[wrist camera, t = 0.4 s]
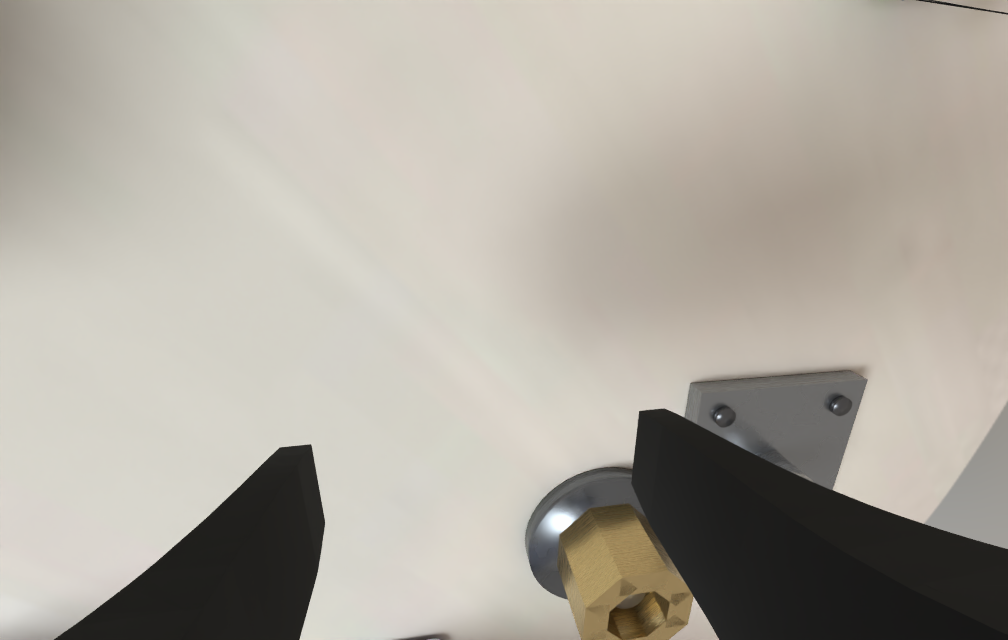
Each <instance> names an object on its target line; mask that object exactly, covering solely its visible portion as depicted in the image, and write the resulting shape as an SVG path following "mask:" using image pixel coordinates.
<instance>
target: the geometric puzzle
mask: <svg viewBox="0 0 1008 640" xmlns="http://www.w3.org/2000/svg"><path fill="white" fill-rule="evenodd" d="M902 1H903V0H902ZM918 1H925V2H931V3H937V4H944V5H950V6H957V7H963V8H970V9H976V10H982V11H989V12H995V13H1002V14H1008V13H1004V12H998V11H991V10H986V9H980V8H974V7H969V6H963V5H957V4H951V3H946V2H940V1H935V2H933V1H934V0H929V1H926V0H918ZM939 2H940V3H939Z"/></svg>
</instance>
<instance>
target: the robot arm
mask: <svg viewBox="0 0 1008 640" xmlns="http://www.w3.org/2000/svg"><path fill="white" fill-rule="evenodd" d="M631 484H632V487H633V489H634V491H635V494H636V496H637V498H638V501H639V503H640V505H641V507H642V509H643V512H644V514H645V516H646V518H647V520H648V522H649V524H650V526H651V528H652V529H653V531H654V533H655V534H656V536H657V538H658V539H659V541H660V543H661V544H662V546H663V548H664V549H665V551H666V552H667V554H668V556H669V557H670V559H671V561H672V562H673V564H674V565H675V567H676V569H677V570H678V572H679V573H680V575H681V577H682V578H683V580H684V582H685V583H686V585H687V586H688V588H689V590H690V591H691V593H692V594H693V596H694V598H695V599H696V601H697V603H698V604H699V606H700V607H701V609H702V611H703V612H704V614H705V615H706V617H707V619H708V620H709V622H710V624H711V626H712V627H713V629H714V631H715V633H716V634H717V636H718V638H719V640H1008V549H1005V548H1001V547H998V546H994V545H990V544H987V543H983V542H980V541H976V540H973V539H969V538H966V537H963V536H960V535H956V534H953V533H950V532H947V531H943V530H940V529H937V528H934V527H931V526H928V525H925V524H922V523H919V522H916V521H913V520H910V519H907V518H904V517H901V516H898V515H895V514H893V513H890V512H887V511H884V510H882V509H879V508H876V507H873V506H871V505H868V504H865V503H863V502H860V501H858V500H855V499H853V498H850V497H848V496H845V495H843V494H840V493H838V492H835V491H833V490H830V489H828V488H826V487H823V486H821V485H819V484H816V483H814V482H812V481H809V480H807V479H805V478H803V477H801V476H799V475H796V474H794V473H792V472H790V471H788V470H786V469H784V468H781V467H779V466H777V465H775V464H773V463H771V462H769V461H767V460H765V459H763V458H761V457H759V456H757V455H755V454H753V453H751V452H749V451H747V450H745V449H743V448H741V447H739V446H737V445H735V444H734V443H732V442H730V441H728V440H726V439H724V438H722V437H720V436H718V435H716V434H715V433H713V432H711V431H709V430H707V429H705V428H703V427H701V426H699V425H697V424H696V423H694V422H692V421H690V420H688V419H686V418H684V417H682V416H680V415H678V414H676V413H673V412H671V411H669V410H666V409H654V410H645V411H639V419H638V428H637V437H636V445H635V454H634V463H633V472H632V481H631ZM324 527H325V519H324V514H323V508H322V502H321V497H320V491H319V485H318V480H317V474H316V469H315V463H314V457H313V452H312V446H311V444H310V445H301V446H291V447H281V448H279V449H278V450H277V451H276V452H275V453H274V454H272V455H271V456H270V457H269V458H268V459H267V460H266V461H265V462H264V463H263V464H262V465H261V466H260V467H259V468H258V469H257V470H256V471H255V472H254V473H253V474H252V475H251V476H250V477H249V478H248V479H247V480H246V481H245V482H244V483H243V484H242V485H241V486H240V487H239V488H238V489H237V490H236V491H235V492H233V493H232V494H231V495H230V496H229V497H228V498H227V499H226V500H225V501H224V502H223V503H222V504H221V505H220V506H219V507H218V508H217V509H216V510H215V511H213V512H212V513H211V514H210V515H209V516H208V517H207V518H206V519H205V520H204V521H203V522H201V523H200V524H199V525H198V526H197V527H196V528H195V529H194V530H192V531H191V532H190V533H189V534H188V535H187V536H186V537H184V538H183V539H182V540H181V541H180V542H179V543H178V544H176V545H175V546H174V547H173V548H172V549H171V550H170V551H168V552H167V553H166V554H165V555H164V556H163V557H162V558H160V559H159V560H158V561H157V562H156V563H155V564H153V565H152V566H151V567H150V568H148V569H147V570H146V571H145V572H144V573H142V574H141V575H140V576H139V577H137V578H136V579H135V580H134V581H132V582H131V583H130V584H129V585H127V586H126V587H125V588H123V589H122V590H121V591H120V592H118V593H117V594H116V595H114V596H113V597H112V598H110V599H109V600H108V601H106V602H105V603H104V604H102V605H101V606H100V607H98V608H97V609H96V610H95V611H93V612H92V613H91V614H89V615H88V616H87V617H85V618H84V619H82V620H81V621H80V622H78V623H77V624H76V625H74V626H73V627H71V628H70V629H68V630H67V631H66V632H64V633H63V634H61V635H60V636H58V637H57V638H55V639H54V640H299V639H300V635H301V631H302V628H303V624H304V621H305V617H306V613H307V610H308V606H309V602H310V599H311V595H312V591H313V588H314V584H315V580H316V576H317V573H318V567H319V561H320V555H321V548H322V541H323V534H324ZM428 640H440V639H437V638H436V639H428Z"/></svg>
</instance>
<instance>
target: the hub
mask: <svg viewBox="0 0 1008 640" xmlns="http://www.w3.org/2000/svg"><path fill="white" fill-rule="evenodd" d="M867 380H868V379H866V378H864V377H862V376H860V375H858V374H856V373H854V372H852V371H838V372H826V373H813V374H801V375H788V376H776V377H763V378H751V379H738V380H726V381H713V382H701V383H690V389H689V395H688V401H687V407H686V413H685V418H686V419H688V420H690V421H692V422H694V423H696V424H697V425H699V426H701V427H703V428H705V429H707V430H709V431H711V432H713V433H715V434H716V435H718V436H720V437H722V438H724V439H726V440H728V441H730V442H732V443H734V444H735V445H737V446H739V447H741V448H743V449H745V450H747V451H749V452H751V453H753V454H755V455H757V456H759V457H761V458H763V459H765V460H767V461H769V462H771V463H773V464H775V465H777V466H779V467H781V468H784V469H786V470H788V471H790V472H792V473H794V474H796V475H799V476H801V477H803V478H805V479H807V480H809V481H812V482H814V483H816V484H819V485H821V486H823V487H826V488H828V489H830V490H832V489H833V486H834V483H835V480H836V477H837V474H838V471H839V468H840V464H841V461H842V458H843V455H844V452H845V449H846V446H847V443H848V439H849V436H850V433H851V430H852V427H853V424H854V421H855V418H856V415H857V411H858V408H859V405H860V402H861V399H862V396H863V393H864V390H865V386H866V383H867Z"/></svg>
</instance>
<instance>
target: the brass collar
mask: <svg viewBox="0 0 1008 640" xmlns="http://www.w3.org/2000/svg"><path fill="white" fill-rule="evenodd" d="M557 567H558V570H559V573H560V576H561V579H562V582H563V585H564V588H565V591H566V594H567V597H568V600H569V603H570V607H571V610H572V613H573V616H574V619H575V622H576V625H577V628H578V631H579V634H580V637H581V640H669V639H670V638H671V637H672V636H673V635H675V634H676V633H677V632H678V631H680V630H681V629H682V628H683V627H685V626H686V625H687V624H688V620H689V615H690V611H691V606H692V601H693V594H692V593H691V591H690V590H689V588H688V586H687V585H686V583H685V582H684V580H683V578H682V577H681V575H680V573H679V572H678V570H677V569H676V567H675V565H674V564H673V562H672V561H671V559H670V557H669V556H668V554H667V552H666V551H665V549H664V548H663V546H662V544H661V543H660V541H659V539H658V538H657V536H656V534H655V533H654V531H653V529H652V528H651V526H650V524H649V522H648V520H647V518H646V517H645V516H644V515H643V514H641V513H640V512H639V511H638V510H636V509H635V508H634V507H633V506H631V505H630V504H629V503H627V504H619V505H611V506H603V507H595V508H589V509H588V510H587V511H586V512H584V513H583V514H582V515H581V516H580V517H579V518H578V519H576V520H575V521H574V522H573V523H572V524H571V525H570V526H569V527H567V528H566V529H565V530H564V531H563V532H562V533H561V534H559V545H558V560H557ZM640 593H645V596H644V598H643V600H642V601H641V602H640V603H639V604H637V605H636V606H634V607H631V608H627V609H621V608H618V607H616V606H617V605H618V604H619V603H621V602H622V601H623V600H624V599H625V598H627V597H628V596H629V595H634V594H640Z"/></svg>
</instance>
